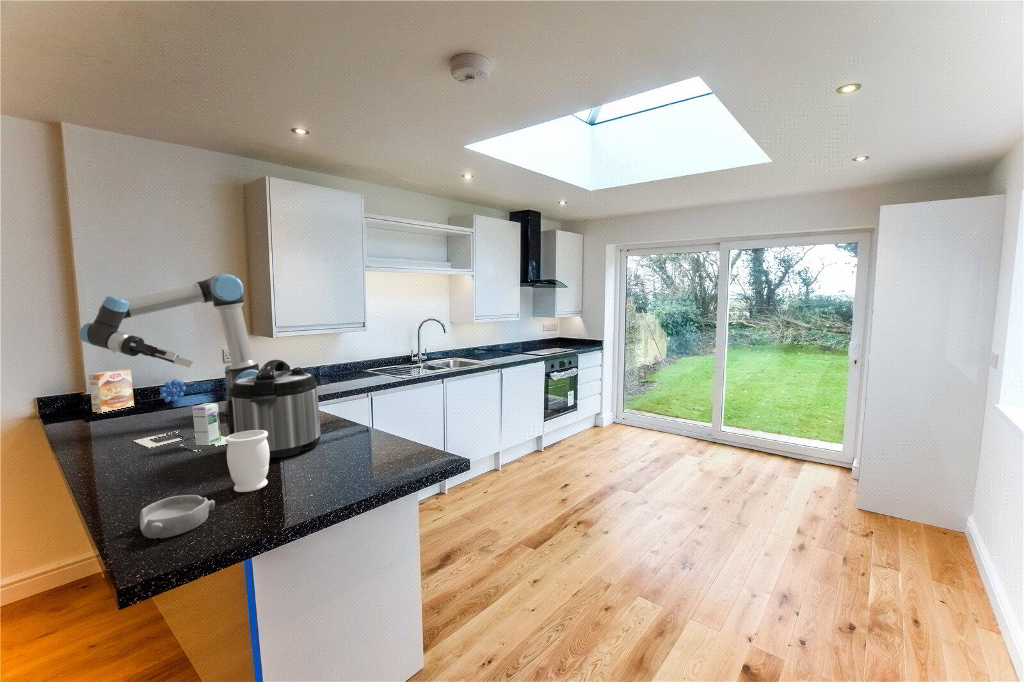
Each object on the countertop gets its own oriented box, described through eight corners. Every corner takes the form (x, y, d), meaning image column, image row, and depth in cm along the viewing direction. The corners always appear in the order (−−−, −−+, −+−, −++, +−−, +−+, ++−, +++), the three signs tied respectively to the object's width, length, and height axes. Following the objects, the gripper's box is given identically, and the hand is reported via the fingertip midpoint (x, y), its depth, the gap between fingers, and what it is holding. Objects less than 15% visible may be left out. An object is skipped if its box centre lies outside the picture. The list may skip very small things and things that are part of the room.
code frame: (181, 431, 191) (181, 430, 191) (198, 437, 182) (198, 435, 182) (133, 441, 178) (132, 440, 178) (149, 448, 169) (148, 447, 169)
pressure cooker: (284, 433, 184) (278, 354, 181) (340, 440, 173) (335, 355, 170) (210, 459, 156) (202, 365, 153) (272, 468, 146) (265, 368, 143)
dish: (160, 546, 100) (158, 524, 100) (124, 534, 106) (122, 513, 106) (226, 517, 113) (224, 497, 113) (190, 507, 119) (189, 488, 119)
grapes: (185, 398, 257) (183, 377, 256) (187, 400, 252) (185, 378, 251) (159, 402, 249) (157, 380, 248) (161, 404, 244) (159, 381, 243)
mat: (220, 436, 182) (220, 435, 182) (238, 441, 174) (238, 440, 174) (179, 446, 171) (179, 445, 171) (196, 452, 163) (196, 451, 163)
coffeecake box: (101, 413, 226) (97, 374, 224) (92, 413, 228) (87, 373, 226) (135, 406, 240) (131, 369, 238) (125, 406, 242) (122, 368, 240)
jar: (241, 480, 136) (237, 430, 135) (277, 478, 137) (274, 428, 136) (221, 495, 126) (217, 441, 124) (261, 493, 127) (257, 439, 125)
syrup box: (209, 445, 169) (205, 406, 168) (195, 445, 170) (191, 406, 169) (221, 441, 175) (218, 402, 173) (208, 440, 176) (204, 402, 174)
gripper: (140, 360, 189) (194, 376, 191) (101, 345, 165) (162, 363, 167) (150, 343, 191) (202, 359, 193) (112, 325, 167) (172, 344, 170)
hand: (184, 361), depth 180 cm, fingers open, 13 cm apart
